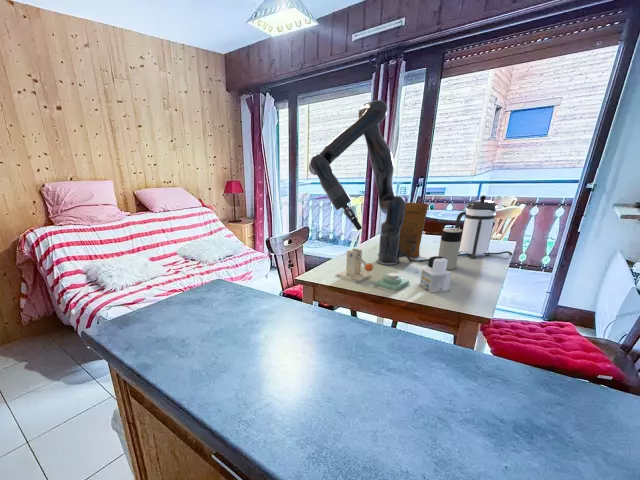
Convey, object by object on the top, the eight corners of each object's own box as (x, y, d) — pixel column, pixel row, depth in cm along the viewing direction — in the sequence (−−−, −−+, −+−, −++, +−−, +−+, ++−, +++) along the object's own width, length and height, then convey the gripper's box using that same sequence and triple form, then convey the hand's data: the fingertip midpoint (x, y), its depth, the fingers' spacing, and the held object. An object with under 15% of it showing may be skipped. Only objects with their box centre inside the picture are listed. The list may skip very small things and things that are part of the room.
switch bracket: (370, 277, 149) (372, 250, 144) (358, 282, 144) (360, 254, 139) (348, 271, 157) (349, 245, 153) (336, 276, 152) (337, 250, 148)
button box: (388, 280, 144) (389, 271, 143) (408, 285, 138) (409, 276, 136) (374, 287, 138) (375, 278, 136) (394, 292, 131) (395, 283, 130)
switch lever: (372, 271, 144) (376, 266, 141) (367, 274, 142) (371, 268, 139) (352, 254, 149) (356, 248, 147) (347, 255, 147) (351, 250, 145)
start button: (390, 275, 139) (390, 272, 138) (399, 278, 136) (399, 274, 135) (385, 278, 137) (385, 274, 136) (394, 280, 134) (394, 276, 133)
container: (419, 285, 137) (423, 255, 132) (437, 283, 137) (441, 254, 132) (430, 292, 129) (434, 261, 125) (448, 290, 130) (454, 259, 125)
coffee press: (489, 251, 172) (501, 193, 161) (489, 260, 160) (503, 197, 149) (451, 248, 181) (460, 193, 170) (449, 256, 169) (459, 197, 158)
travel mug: (458, 269, 151) (465, 231, 144) (439, 269, 152) (445, 231, 145) (452, 264, 158) (458, 227, 151) (434, 264, 159) (440, 227, 153)
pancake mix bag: (418, 259, 168) (425, 204, 157) (383, 253, 181) (387, 202, 171) (423, 256, 172) (431, 202, 162) (389, 250, 185) (393, 200, 175)
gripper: (346, 190, 135) (369, 224, 135) (345, 192, 147) (366, 224, 148) (330, 201, 137) (353, 235, 138) (331, 202, 149) (351, 233, 150)
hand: (360, 229), depth 143 cm, fingers closed
